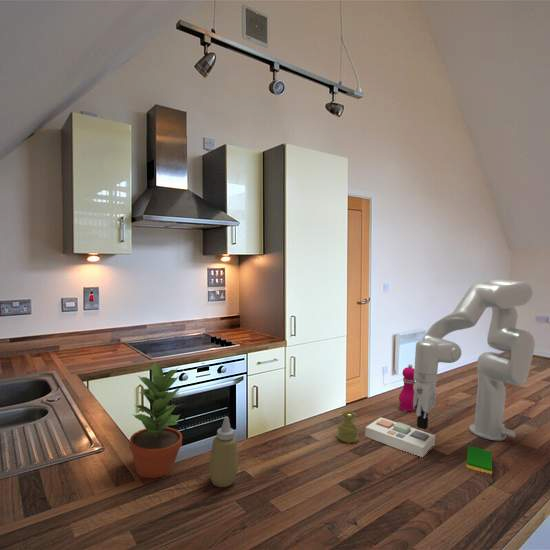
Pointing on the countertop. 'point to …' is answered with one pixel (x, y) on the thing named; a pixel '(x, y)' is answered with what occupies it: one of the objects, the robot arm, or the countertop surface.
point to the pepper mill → (407, 389)
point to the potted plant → (156, 428)
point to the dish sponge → (479, 459)
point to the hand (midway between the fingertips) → (422, 427)
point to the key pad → (399, 438)
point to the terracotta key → (385, 423)
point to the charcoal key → (419, 435)
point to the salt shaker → (348, 428)
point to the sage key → (402, 428)
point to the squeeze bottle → (224, 456)
